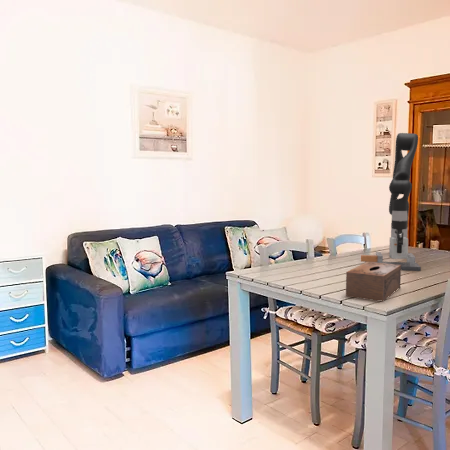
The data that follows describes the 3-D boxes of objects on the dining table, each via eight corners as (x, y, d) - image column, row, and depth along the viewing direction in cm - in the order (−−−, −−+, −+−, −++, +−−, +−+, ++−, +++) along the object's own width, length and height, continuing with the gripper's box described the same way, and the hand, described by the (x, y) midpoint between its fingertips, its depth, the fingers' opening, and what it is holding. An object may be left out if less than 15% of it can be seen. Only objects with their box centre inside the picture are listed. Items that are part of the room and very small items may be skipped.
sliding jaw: (360, 260, 245) (360, 251, 245) (380, 261, 243) (380, 252, 242) (361, 264, 234) (361, 255, 233) (382, 265, 231) (382, 256, 231)
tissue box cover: (382, 302, 173) (383, 276, 172) (345, 296, 181) (346, 271, 180) (400, 288, 194) (400, 265, 193) (366, 284, 202) (366, 261, 201)
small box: (404, 257, 237) (405, 237, 236) (407, 259, 231) (408, 238, 230) (388, 257, 238) (389, 237, 237) (391, 258, 232) (392, 238, 231)
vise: (364, 264, 245) (365, 251, 244) (416, 266, 238) (417, 253, 238) (366, 269, 233) (366, 255, 233) (420, 271, 227) (421, 257, 226)
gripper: (390, 218, 240) (389, 249, 242) (393, 220, 227) (392, 254, 228) (405, 218, 239) (404, 250, 240) (409, 221, 225) (408, 254, 226)
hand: (398, 251), depth 234 cm, fingers closed on small box, 6 cm apart
